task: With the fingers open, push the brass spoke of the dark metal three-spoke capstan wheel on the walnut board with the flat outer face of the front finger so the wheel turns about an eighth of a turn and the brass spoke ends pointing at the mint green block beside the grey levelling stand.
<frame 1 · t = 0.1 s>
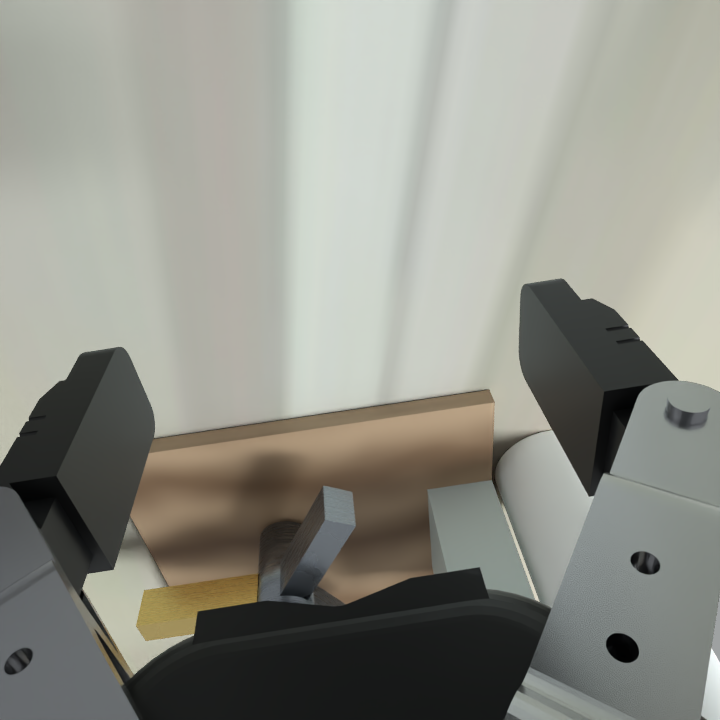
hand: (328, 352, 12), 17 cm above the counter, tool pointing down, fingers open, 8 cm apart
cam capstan: (256, 590, 37), point 5 cm above the counter, hinge at 0.0°
walnut board: (322, 523, 42), on the counter
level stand: (460, 526, 42), resting on walnut board
cylindrical container: (543, 465, 41), on the counter
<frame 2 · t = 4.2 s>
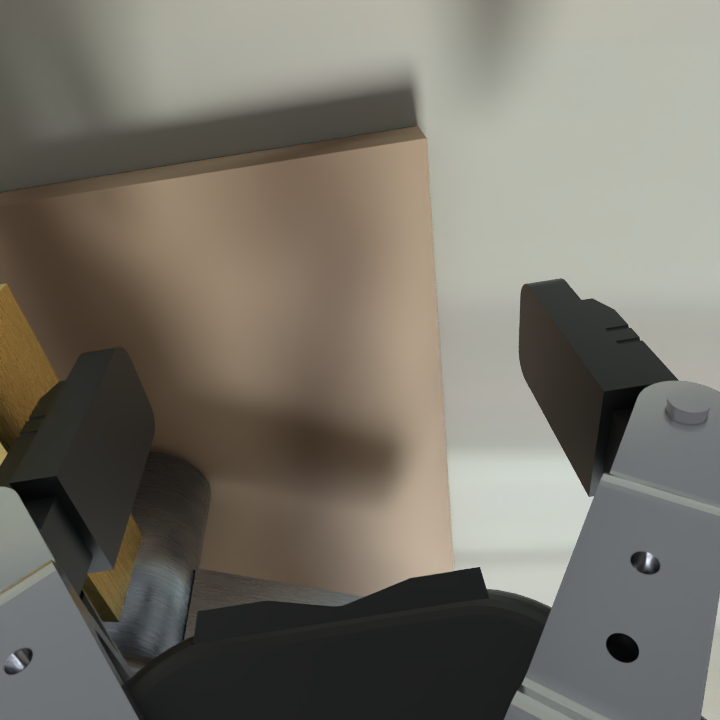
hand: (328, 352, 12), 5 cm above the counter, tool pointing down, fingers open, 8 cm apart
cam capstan: (98, 554, 14), point 5 cm above the counter, hinge at 0.0°, touching gripper
walnut board: (157, 513, 21), on the counter
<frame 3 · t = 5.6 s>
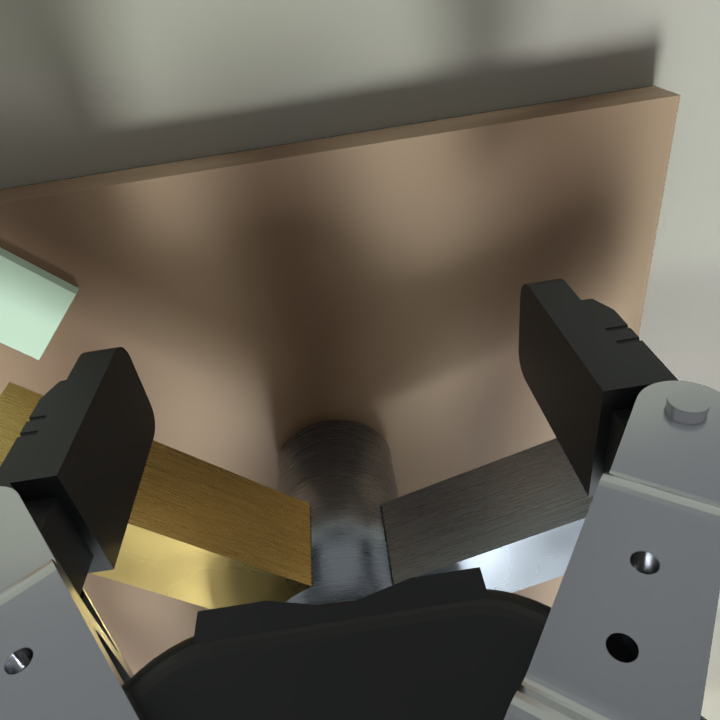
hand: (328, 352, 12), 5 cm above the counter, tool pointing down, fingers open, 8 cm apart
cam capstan: (282, 539, 15), point 5 cm above the counter, hinge at 47.0°, touching gripper
walnut board: (316, 486, 21), on the counter
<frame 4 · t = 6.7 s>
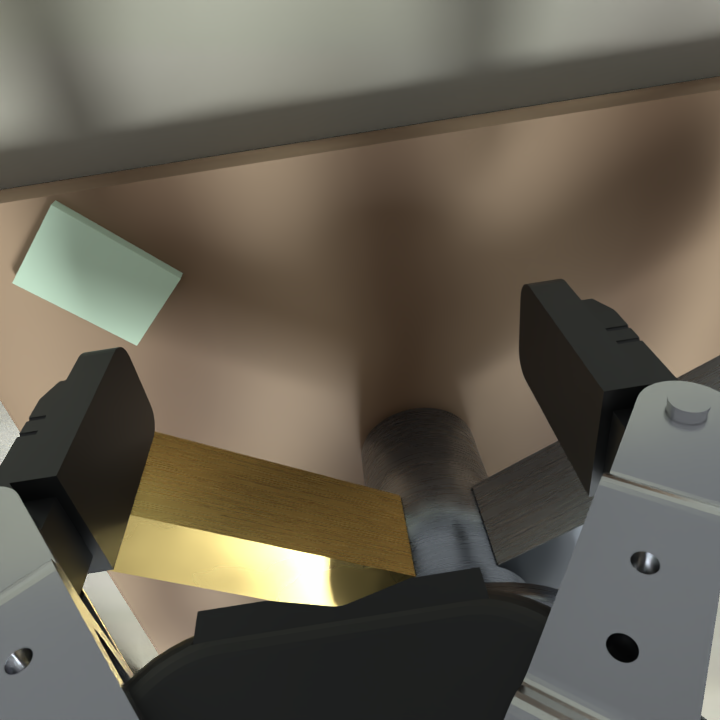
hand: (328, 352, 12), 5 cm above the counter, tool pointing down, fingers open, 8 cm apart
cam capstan: (378, 533, 15), point 5 cm above the counter, hinge at 57.8°, touching gripper
mint green block: (100, 275, 14), resting on walnut board
walnut board: (388, 477, 21), on the counter
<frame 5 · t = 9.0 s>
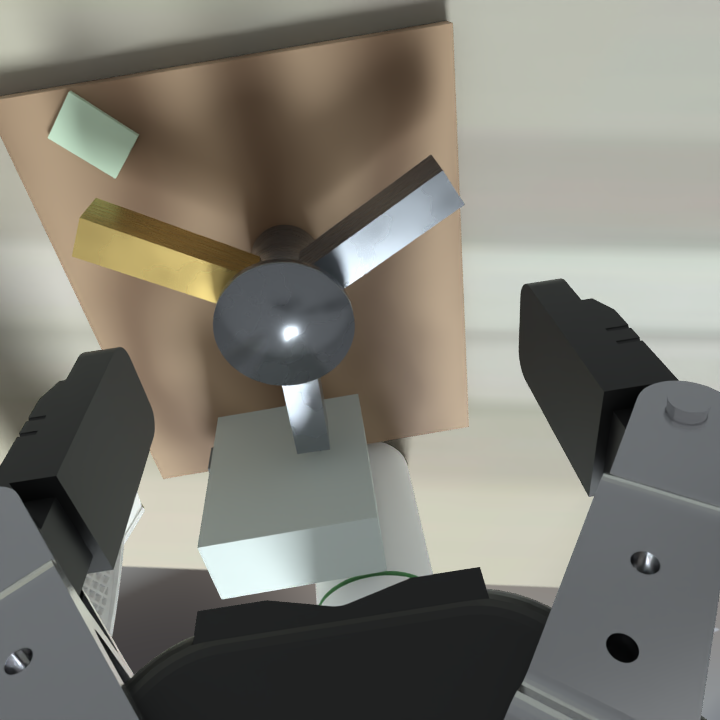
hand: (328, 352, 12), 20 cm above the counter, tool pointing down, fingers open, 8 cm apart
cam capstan: (247, 276, 27), point 5 cm above the counter, hinge at 57.8°
mint green block: (94, 135, 27), resting on walnut board
skyscraper: (98, 481, 41), on the counter
walnut board: (278, 288, 34), on the counter
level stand: (295, 431, 38), resting on walnut board
cylindrical container: (359, 474, 43), on the counter
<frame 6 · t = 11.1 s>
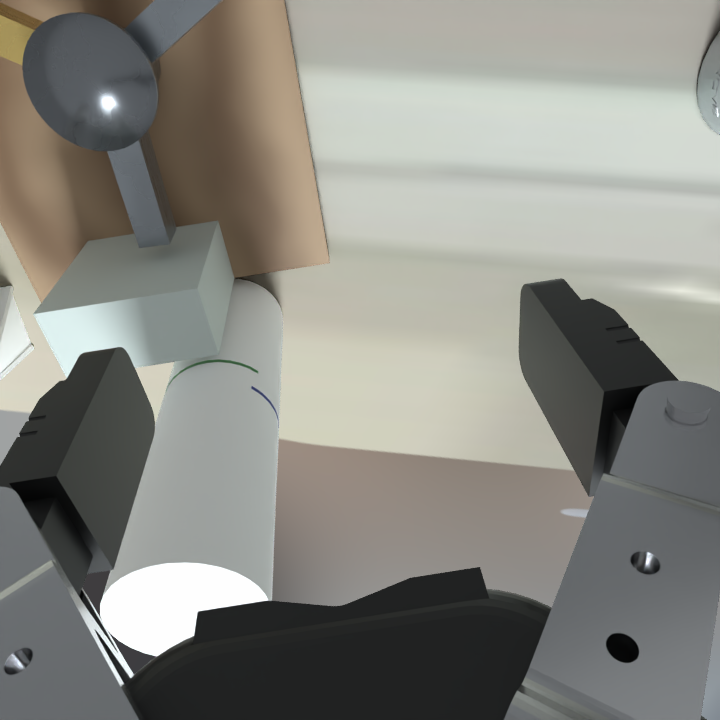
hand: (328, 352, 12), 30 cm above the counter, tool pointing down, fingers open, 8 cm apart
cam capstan: (74, 57, 30), point 5 cm above the counter, hinge at 57.8°
walnut board: (132, 106, 36), on the counter
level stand: (163, 260, 41), resting on walnut board
cylindrical container: (237, 318, 46), on the counter
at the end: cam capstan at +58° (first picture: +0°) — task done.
